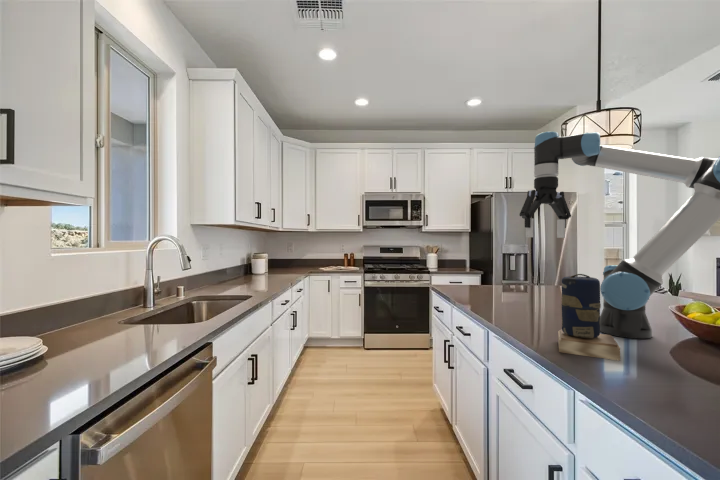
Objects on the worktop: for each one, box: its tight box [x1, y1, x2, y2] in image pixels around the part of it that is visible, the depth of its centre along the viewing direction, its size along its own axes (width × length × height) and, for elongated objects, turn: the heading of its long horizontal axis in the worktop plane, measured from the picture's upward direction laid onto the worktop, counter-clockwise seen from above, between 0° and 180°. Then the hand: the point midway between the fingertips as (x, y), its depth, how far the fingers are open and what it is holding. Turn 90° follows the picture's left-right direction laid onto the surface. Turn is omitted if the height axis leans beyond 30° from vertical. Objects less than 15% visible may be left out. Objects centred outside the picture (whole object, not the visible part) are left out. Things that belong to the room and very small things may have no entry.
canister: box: [561, 273, 602, 338], centre depth 101 cm, size 10×10×18 cm
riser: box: [557, 328, 621, 362], centre depth 100 cm, size 14×12×4 cm
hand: (545, 237), depth 123 cm, fingers open, 13 cm apart
